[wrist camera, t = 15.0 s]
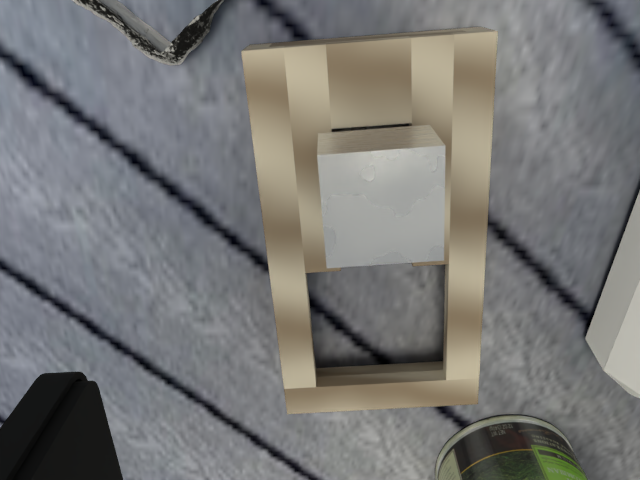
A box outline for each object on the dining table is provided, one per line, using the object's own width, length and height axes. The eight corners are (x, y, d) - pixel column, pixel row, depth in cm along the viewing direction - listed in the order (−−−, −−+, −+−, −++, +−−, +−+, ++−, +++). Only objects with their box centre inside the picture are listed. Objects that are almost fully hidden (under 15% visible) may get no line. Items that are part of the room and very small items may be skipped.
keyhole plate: (465, 371, 38) (477, 404, 35) (290, 381, 38) (287, 414, 35) (480, 26, 29) (497, 31, 26) (249, 44, 29) (241, 51, 26)
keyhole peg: (420, 194, 33) (455, 270, 24) (318, 201, 33) (316, 279, 24) (419, 89, 30) (458, 131, 21) (309, 98, 30) (303, 143, 22)
